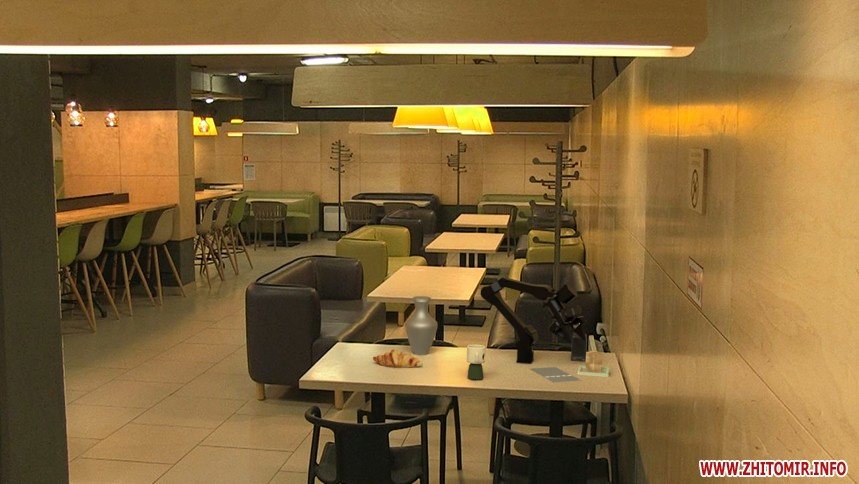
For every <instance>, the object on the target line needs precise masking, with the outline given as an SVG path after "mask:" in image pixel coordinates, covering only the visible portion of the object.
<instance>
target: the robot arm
mask: <svg viewBox="0 0 859 484" xmlns="http://www.w3.org/2000/svg"><path fill="white" fill-rule="evenodd" d="M505 288H508V289H511V290H514V291H519V292H522V293H525V294H528V295H531V296H532V297H533V298H536V299H537V300H540V301H543V302H542V303H543V304H542V307H541V308H542V309H546V310H547V309H548V310H549V311H550V313H551V314H552V317H551V318H552V320H554V321H553V322H552V323H551V324H550V325H549V326H548V328H547V329H548V332H549V333H550V334H551V335H553V336H556V337H558V338H560V339H562V340H563V341H565V342H567V343H569V344H570V345H572V338H571V337H570V335H569V333H568V331H567V330H566V329H567V328H569V327H570V328H571V329H573V330H572V331H573V333H576V334H577V335H578V336H579V337H580V338H582V339H583V340H584V341H585V340H586V336H585V334H586V333H585V327H584V326H585V324H586V322H587V319H586V317H585V316H583V315H582V312H583V308H581V306H580V305H574V306H573V307H571V308H567V307H566V308H565V306H564V304H565V305H568V304H569V303H570V302H571V301H573V300H575V298H576V297H578V292H577V291H576V289H575V288H573V287H572V286H571V285H569V284H568V283H565V284H564V285H563V286H562V287H561V288H559V289H555V288H552V286H551V285H548V284H533V283H529V282H525V281H521V280H518V279H513V278H510V277H508V276H504V277H500V278H499V279H498V280H497V281H494V282H493V283H492V284H488V285H485V286H483V287H481V290H480V294H479V295H480V297H481V298H482V299H483V300H484V301H486V302H487V303H488V304H490V305H492V306H494V307H495V308H496V309H497V310H498V312H499V313H500V314H501V315H502V317H504V319H505V320H506V321H507V322H508V323H509V324H510V326H511V327H512V328H513V329H514V330H515V331H516V334H517V337H518V339H519V340H518V341H517V342H516V343H515V349H516V361H515V362H516V363H519V364H530V365H531V364H532V363H533V362H534V360H535V356H534V355H535V351H534V350H533V349H534V348H533V347H534V345H535V343H537V342H538V340H539V333H538V330H537V329H535V327H534V326H533V325H532V324H528V325H527V324H525V323H524V322H523V320H522V319H521V318H520V317H519V316H518V315H517V314H516V313H515V311H513V309H512V308H511V307H510V306H509V305H508V303H507V302H505V300H504V299H503V296H502V293H501V291H502V290H503V289H505ZM546 300H547V301H546ZM578 315H579V316H578ZM580 315H582V316H580Z"/></svg>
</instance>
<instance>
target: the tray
mask: <svg viewBox="0 0 859 484" xmlns="http://www.w3.org/2000/svg"><path fill="white" fill-rule="evenodd" d="M582 369H585V370H586V364H585V365H584V364H583V365H581V364H579V365H578V368H577V375H579V376H580V375H581V376H590V377H591V376H593V377H603V378H605V377H606V378H609V376H610V375H609V374H610V367H609V366H602V368H601V372H600V373H593V372H586V371H582Z"/></svg>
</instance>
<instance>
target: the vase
mask: <svg viewBox="0 0 859 484" xmlns="http://www.w3.org/2000/svg"><path fill="white" fill-rule="evenodd" d="M412 300H413V303H414V308H415V309H414V312H413V315H411V316H410V317H409V318H408V319H407V320H405V322H404V328H405V332H406V336H407V340H408V343H409V346H410V348H411V350H412V354H413V355H416V356H425V355H429V352H430V350H431V348H432V346H433V342H434V340H435V337H436V334H437V330H438V321H437V320H435V318H433V317H432V316H431V315H430V313H429V305H430V302H431V300H432V297H430V296H424V295H423V296H422V295H421V296H420V295H418V296H417V295H416V296H413V297H412Z"/></svg>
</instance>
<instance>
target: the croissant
mask: <svg viewBox="0 0 859 484" xmlns="http://www.w3.org/2000/svg"><path fill="white" fill-rule="evenodd" d="M372 360H373V361H374V362H375V363H376V364H379V365H380V366H383V367H387V368H397V369H400V368H401V369H403V368H414V367H415V368H419V367H422V366H423V361H421V360H420V359H419V358H418V357H414V356H413V355H411V353H405V352H404V353H403V351H401V350H398V349H391V350H390V352H385V353H384V354H378V355H377V356H373V357H372Z"/></svg>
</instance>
